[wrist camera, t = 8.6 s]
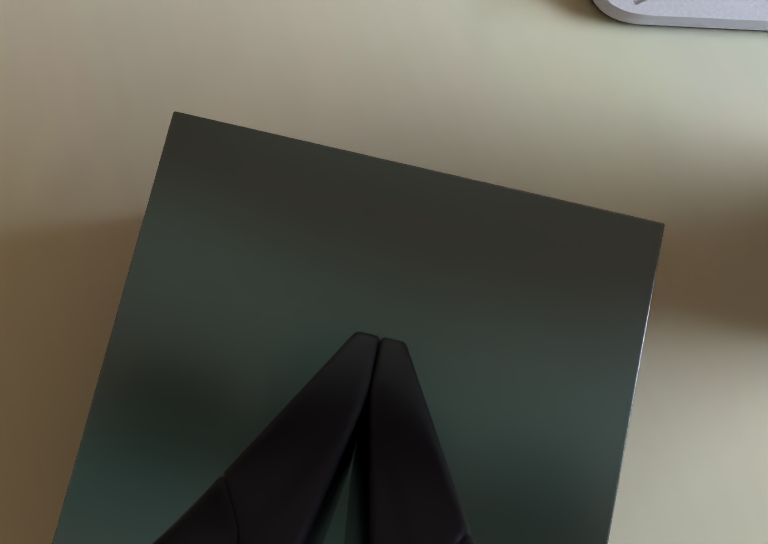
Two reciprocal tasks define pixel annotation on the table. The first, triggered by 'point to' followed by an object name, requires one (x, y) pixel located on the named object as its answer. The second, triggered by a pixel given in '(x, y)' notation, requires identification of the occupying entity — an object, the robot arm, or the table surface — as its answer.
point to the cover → (370, 315)
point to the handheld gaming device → (690, 13)
